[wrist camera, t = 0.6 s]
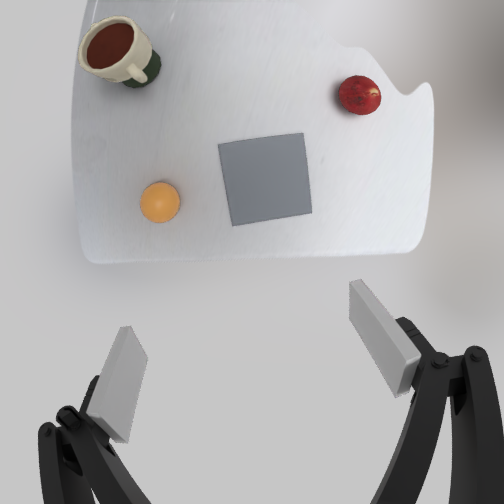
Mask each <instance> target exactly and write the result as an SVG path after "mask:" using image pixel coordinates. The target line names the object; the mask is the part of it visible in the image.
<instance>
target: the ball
mask: <svg viewBox="0 0 504 504" xmlns="http://www.w3.org/2000/svg"><path fill="white" fill-rule="evenodd" d="M179 206H180V198H179V195H178V192H177V191H176V190H175V188H174V187H172V186H171V185H169V184H167V183H162V182H159V183H154V184H152V185H150V186H149V187H147V188H146V189H145V191H144V192H143V194H142V196H141V200H140V207H141V211H142V213H143V215H144V216H145V217H146V218H147V219H148V220H150V221H152V222H155V223H164V222H167V221H169V220H171V219H172V218H173V217H174V216H175V215H176V214H177V212H178V210H179Z"/></svg>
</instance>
